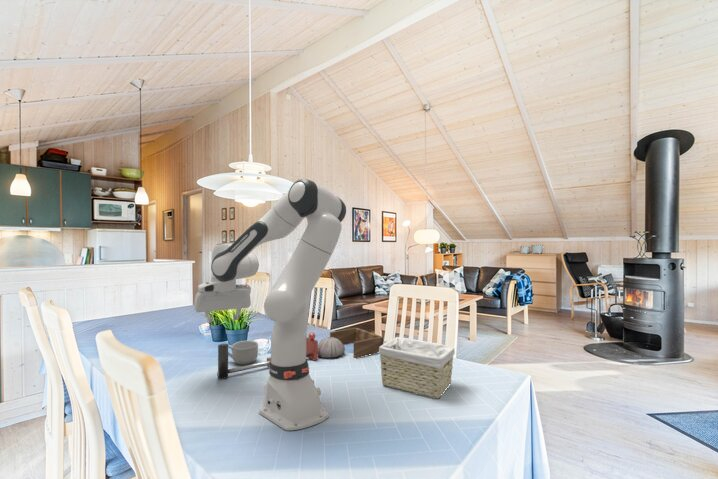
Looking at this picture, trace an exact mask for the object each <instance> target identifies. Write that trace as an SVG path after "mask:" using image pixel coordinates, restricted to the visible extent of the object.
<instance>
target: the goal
mask: <svg viewBox="0 0 718 479" xmlns="http://www.w3.org/2000/svg"><path fill="white" fill-rule="evenodd" d="M329 337H334V338H336V339H338V340H340V341H341V342H342V344H343V345H344V346H345V345H348V343H349V344H353V358H354V359H355V358H356V359H358V358H357V357H360V358H362V357H361V356H364V357H366V356H365V355H368V356H370V355H369V354H372V355H374V354H373V353H377V352H379V347H380V346H382V345H383V344H384V337H383V336H381V335H379V334H376V333H373V332H370V331H367V330H364V329H361V328H358V327H352V328H346V329H340V330H333V331H330V332H329ZM353 342H354V343H353ZM377 354H378V353H377Z"/></svg>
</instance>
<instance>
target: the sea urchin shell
mask: <svg viewBox="0 0 718 479" xmlns="http://www.w3.org/2000/svg"><path fill="white" fill-rule="evenodd" d="M345 351H346V349H345V344H344V345H343V344H342V342H341V341H340V340H338V339H336V338H334V337H330V336H328V337H327V336H326V337H324V338H322V339H321V340H319V342H318V357H321V358H327V359H328V358H329V359H330V358H336V357H339V356H342V355H343V354H344V353H345Z"/></svg>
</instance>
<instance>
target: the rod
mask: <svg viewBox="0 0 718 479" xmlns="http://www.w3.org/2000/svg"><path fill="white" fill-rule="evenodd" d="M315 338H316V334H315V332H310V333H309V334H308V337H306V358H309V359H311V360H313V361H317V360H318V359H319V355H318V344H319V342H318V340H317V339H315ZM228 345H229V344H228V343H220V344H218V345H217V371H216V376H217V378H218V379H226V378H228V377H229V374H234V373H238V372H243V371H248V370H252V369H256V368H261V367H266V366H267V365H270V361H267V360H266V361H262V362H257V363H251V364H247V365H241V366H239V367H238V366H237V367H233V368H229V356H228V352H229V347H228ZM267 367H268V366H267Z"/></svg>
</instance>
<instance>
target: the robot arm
mask: <svg viewBox="0 0 718 479" xmlns="http://www.w3.org/2000/svg"><path fill="white" fill-rule="evenodd" d="M346 215H347V206H346V204H345V202H344V201H343V200H342V199H341V198H340V197H339V196H337V195H335V194H334V193H332V192H331V191H330V190H329V189H328V188H326V187H324V186H322V185H320V184H318V183H316V182H315V181H313V180H309V179H306V178H300V179H297V180H296V181H294V182H293V183H292V184H291V186H290V188H289V190H288V191H287V192H285V193H284V194H283V195H282V196H281V197H280V198H279V199H278V200H277V201H276V202H275V203H274V204H273V206H272V207H271V208H270V209H269V210H268V211H267V212H266V213H265V214H264V215H263V216H261V218H259V219H258V220H257V221H256V222H255V223H253V224H252V225H250V226H249V227H248V228H247V229H246V230H245V231H244V232H243V233H241V235H239V236H238V238H237V239H236V240H235V241H233V242H222V243H217V244H216V245H215V246H213V249H212V254H211V265H210V266H211V267H210V268H211V276H210V277H211V280H209V281H206V282H204V283H201V284H198V286H197V289H198V292H196V294H195V297H194V302H193V304H194V305H193V310H194V311H195V312H196V313H204V316H205V317H206V320H207V324H213V317H210V316H209V315H210V312H216V311H217V312H218V311H226V310H227V311H228V310H236V312H235V315H232V317H233V318H232V320H233V321H238V320H239V316H240V314H241V313H242V309H246V308H249V307H250V306H252V305H251V303H252V302H251V289H252V288H251V286H250V285H249V284H247V283H244V284H241V283H239V284H237V280H240V279H245V278H251V277H253V276H255V275H256V274H257V273H258V270H259V266H260V264H259V259H258V258H257V256H256V254H254V253H253V250H255V249H256V248H257V247H258V246H261V245H262V244H265V243H268V242H271V241H276V240H281V239H283V238H286V237H287V236H289V235H290V234H291V233H293V232H294V231H295V230H296V229H297V227H298V226H299V225H300V224H301V223H302V221H303V220H304V219H305V218H306V220H307V225H306V228H305V230H304V232H303V234H302V236H301V238H300V239H299V241H298V243H297V244H296V247H295V249H294V251H293V253H292V255H291V257H290V259H289V260H288V262H287V264H286V265H285V267H284V268H283V270H282V271H281V273H280V275H278V278H277V279H276V281H275V283H274V285H273V286H272V287H271V289H270V291H269V293H268V294H267V296H266V298H265V299H264V302H263V309H264V312H265V313H264V314H265V315H266V316H267V318H269V319H270V320H271V321H273V322H274V325H273V328H272V333H271V337H270V357H271V361H270V365H269V367H268V373H269V376H268V379H267V381H266V383H265V384H264V394H263V395H264V396H263V406H261V407H260V408H259V411H258V413H259V414H260V415H261V416H263V418H266V419H267V420H269V421H270V422H272V423H273V424H275V425H277V426H279V427H280V428H281V429H283V430H284V431H296V430H297V431H298V430H301V429H305V428H309V427H311V426H314V425H317V424H319V423H322V422H323V421H326V419H328V417H329V412H328V411H327V409H326V408H325V407H324V405H323V404H322V403H321V398H320V396H321V394H322V390H321V388H320V387H316V385H315V381H314V379H312V377H311V375H310V367H309V363H308V361H309V360H308V359H307V357H306V338H307V335H308V334H307V333H308V332H307V331H308V327H309V326H308V324H309V314H310V300H311V293H312V291H313V290H314V288H315V287H316V285H317V283H318V281H319V280H320V278H321V276H322V274H323V273H324V270H325V268H326V267H327V265H328V263H329V261H330V259H331V257H332V255H333V254H334V251H335V249H336V247H337V244H338V242H339V239H340V237H341V231H342V221H344V219H345V217H346Z"/></svg>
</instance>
